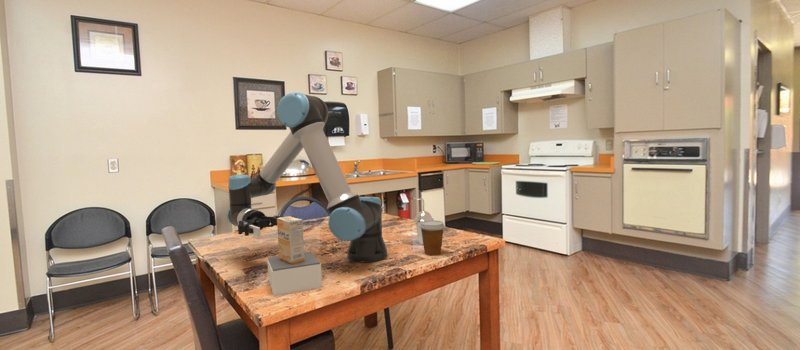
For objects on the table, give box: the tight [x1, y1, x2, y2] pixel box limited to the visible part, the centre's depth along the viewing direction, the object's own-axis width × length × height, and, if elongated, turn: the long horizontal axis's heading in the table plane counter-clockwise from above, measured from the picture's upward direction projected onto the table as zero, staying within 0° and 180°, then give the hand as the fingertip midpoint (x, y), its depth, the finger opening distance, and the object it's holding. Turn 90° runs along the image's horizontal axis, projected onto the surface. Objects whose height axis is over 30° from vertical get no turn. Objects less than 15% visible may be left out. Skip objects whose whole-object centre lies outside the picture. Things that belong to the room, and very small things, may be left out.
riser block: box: [266, 250, 323, 297], centre depth 120 cm, size 14×14×8 cm
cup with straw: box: [411, 197, 434, 245], centre depth 164 cm, size 8×9×20 cm
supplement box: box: [276, 215, 305, 264], centre depth 119 cm, size 8×5×13 cm, turn 43°
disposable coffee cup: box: [420, 219, 446, 256], centre depth 149 cm, size 10×10×12 cm
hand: (279, 228), depth 123 cm, fingers open, 13 cm apart
